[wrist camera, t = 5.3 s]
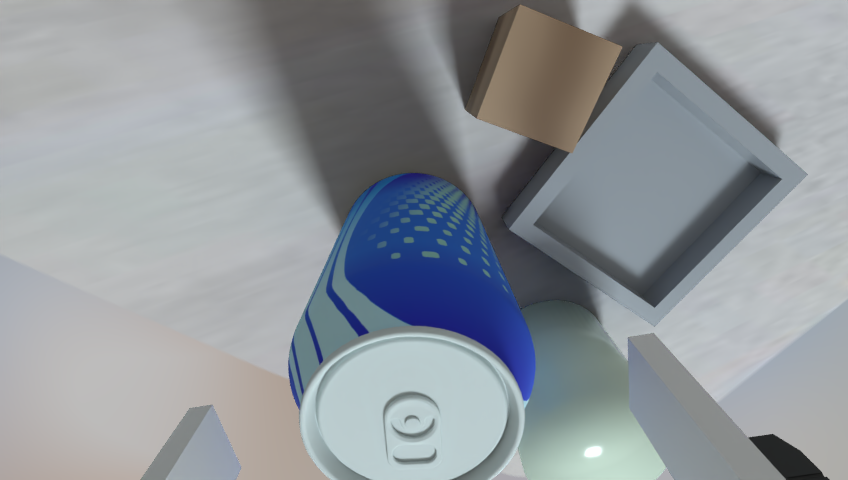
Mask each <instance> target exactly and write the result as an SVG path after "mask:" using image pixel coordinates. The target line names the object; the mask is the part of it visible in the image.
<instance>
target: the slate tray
mask: <svg viewBox="0 0 848 480" xmlns="http://www.w3.org/2000/svg"><path fill="white" fill-rule="evenodd" d="M807 175H808V174H807V173H806V172H805V171H804V170H802V169H801V168H800V167H799V166H798V165H797V164H796V163H794V162H793V161H792V160H791V159H790V158H789V157H788V156H787V155H785V154H784V153H783V152H782V151H781V150H780V149H779V148H777V147H776V146H775V145H774V144H773V143H772V142H771V141H770V140H768V139H767V138H766V137H765V136H764V135H763V134H762V133H760V132H759V131H758V130H757V129H756V128H755V127H754V126H752V125H751V124H750V123H749V122H748V121H747V120H746V119H745V118H743V117H742V116H741V115H740V114H739V113H738V112H737V111H735V110H734V109H733V108H732V107H731V106H730V105H729V104H728V103H726V102H725V101H724V100H723V99H722V98H721V97H720V96H718V95H717V94H716V93H715V92H714V91H713V90H712V89H710V88H709V87H708V86H707V85H706V84H705V83H704V82H703V81H701V80H700V79H699V78H698V77H697V76H696V75H695V74H693V73H692V72H691V71H690V70H689V69H688V68H687V67H686V66H684V65H683V64H682V63H681V62H680V61H679V60H678V59H676V58H675V57H674V56H673V55H672V54H671V53H670V52H668V51H667V50H666V49H665V48H664V47H663V46H662V45H661V44H659V43H658V42H655V43H646V44H637V45H636V46H635V47H634V49H633V50H632V51H631V52H630V54H629V55H628V56H627V58H626V59H625V60H624V61H623V63H622V64H621V65H620V67H619V68H618V69H617V70H616V72H615V73H614V74H613V75H612V77H611V78H610V79H609V81H608V82H607V83H606V84H605V86H604V87H603V90H602V92H601V94H600V96H599V98H598V100H597V102H596V104H595V107H594V109H593V111H592V113H591V115H590V117H589V119H588V121H587V124H586V126H585V128H584V130H583V132H582V134H581V136H580V138H579V141H578V143H577V145H576V147H575V149H574V151H573V153H570V152H567V151H564V150H561V149H559V148H555V150H554V151H553V152H552V154H551V155H550V156H549V157H548V159H547V160H546V161H545V162H544V164H543V165H542V166H541V168H540V169H539V170H538V171H537V173H536V174H535V175H534V177H533V178H532V179H531V180H530V182H529V183H528V184H527V186H526V187H525V188H524V189H523V191H522V192H521V193H520V194H519V196H518V197H517V198H516V200H515V201H514V202H513V203H512V205H511V206H510V207H509V209H508V210H507V211H506V212H505V214H504V215H503V216H502V219H503V220H504V222H505V224H506V225H507V227H508V229H509V230H511V231H512V232H514V233H515V234H517V235H518V236H520V237H521V238H523V239H524V240H526V241H527V242H529V243H530V244H532V245H533V246H535V247H536V248H538V249H539V250H541V251H542V252H544V253H545V254H547V255H548V256H550V257H551V258H553V259H554V260H556V261H557V262H559V263H560V264H562V265H563V266H565V267H566V268H568V269H569V270H571V271H572V272H574V273H575V274H577V275H578V276H580V277H581V278H582V279H584V280H585V281H587V282H588V283H590V284H591V285H593V286H594V287H596V288H597V289H599V290H600V291H602V292H603V293H605V294H606V295H608V296H609V297H611V298H612V299H614V300H615V301H617V302H618V303H620V304H621V305H623V306H624V307H626V308H627V309H629V310H630V311H632V312H633V313H635V314H636V315H638V316H639V317H641V318H642V319H644V320H645V321H647V322H648V323H650V324H651V325H653V326H654V327H655V326H656V325H657V324H658V323H659V322H660V321H661V320H662V319H663V318H664V317H665V316H666V315H667V314H668V313H669V312H670V311H671V310H672V309H673V308H674V307H675V306H676V305H677V304H678V303H679V302H680V301H681V300H682V299H683V298H684V297H685V296H686V295H687V294H688V293H689V292H690V291H691V290H692V289H693V288H694V287H695V286H696V285H697V284H698V283H699V282H700V281H701V280H702V279H703V278H704V277H705V276H706V275H707V274H708V273H709V272H710V271H711V270H712V269H713V268H714V267H715V266H716V265H717V264H718V263H719V262H720V261H721V260H722V259H723V258H724V257H725V256H726V255H727V254H728V253H729V252H730V251H731V250H732V249H733V248H734V247H735V246H736V245H737V244H738V243H739V242H740V241H741V240H742V239H743V238H744V237H745V236H746V235H747V234H748V233H749V232H750V231H751V230H752V229H753V228H754V227H755V226H757V225H758V224H759V223H760V222H761V221H762V220H763V219H764V218H765V217H766V216H767V215H768V214H769V213H770V212H771V211H772V210H773V209H774V208H775V207H776V206H777V205H778V204H779V203H780V202H781V201H782V200H783V199H784V198H785V197H786V196H787V195H788V194H789V193H790V192H791V191H792V190H793V189H794V188H795V187H796V186H797V185H798V184H799V183H800V182H801V181H802V180H803V179H804V178H805V177H806V176H807Z"/></svg>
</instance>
